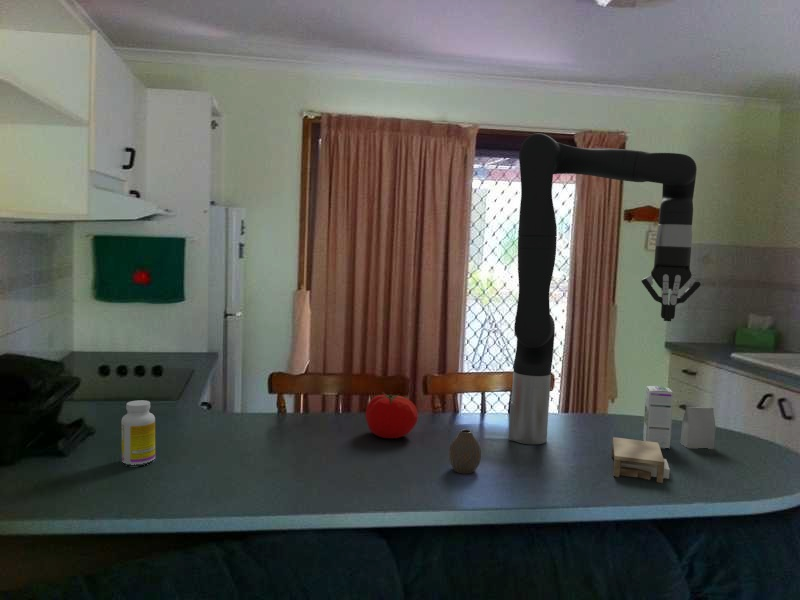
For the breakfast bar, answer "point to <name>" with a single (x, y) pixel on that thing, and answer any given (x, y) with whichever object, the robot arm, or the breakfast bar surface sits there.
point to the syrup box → (658, 415)
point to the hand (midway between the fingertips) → (667, 320)
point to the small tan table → (637, 457)
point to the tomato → (391, 416)
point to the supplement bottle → (138, 433)
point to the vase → (465, 453)
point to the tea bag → (698, 428)
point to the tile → (647, 467)
